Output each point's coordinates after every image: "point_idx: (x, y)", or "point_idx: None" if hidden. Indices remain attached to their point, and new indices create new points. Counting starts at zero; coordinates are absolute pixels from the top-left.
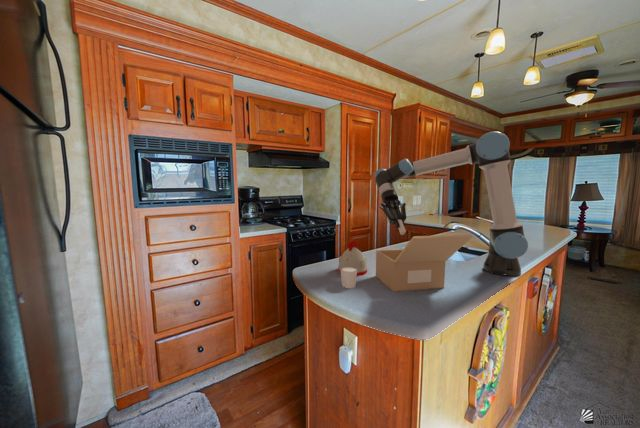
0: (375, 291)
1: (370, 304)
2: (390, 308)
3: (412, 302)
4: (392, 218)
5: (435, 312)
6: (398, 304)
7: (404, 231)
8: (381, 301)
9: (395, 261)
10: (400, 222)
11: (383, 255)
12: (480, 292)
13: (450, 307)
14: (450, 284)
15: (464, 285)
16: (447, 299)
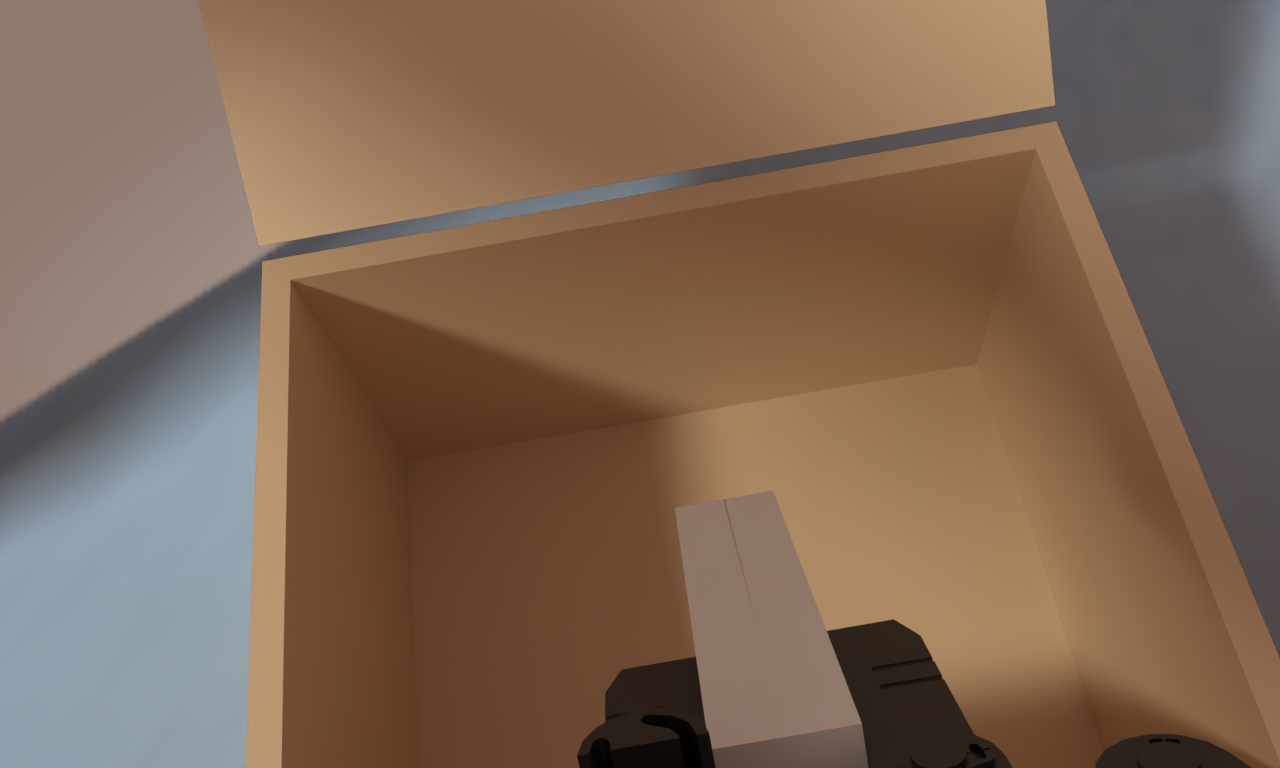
0: (1189, 348)
1: (1243, 98)
2: (1070, 51)
3: (854, 148)
4: (1170, 744)
5: None
6: None
7: (724, 499)
8: (1137, 150)
9: (1044, 75)
10: (788, 654)
11: (1188, 450)
12: (104, 358)
13: None
14: (247, 556)
15: (113, 528)
16: (516, 211)
